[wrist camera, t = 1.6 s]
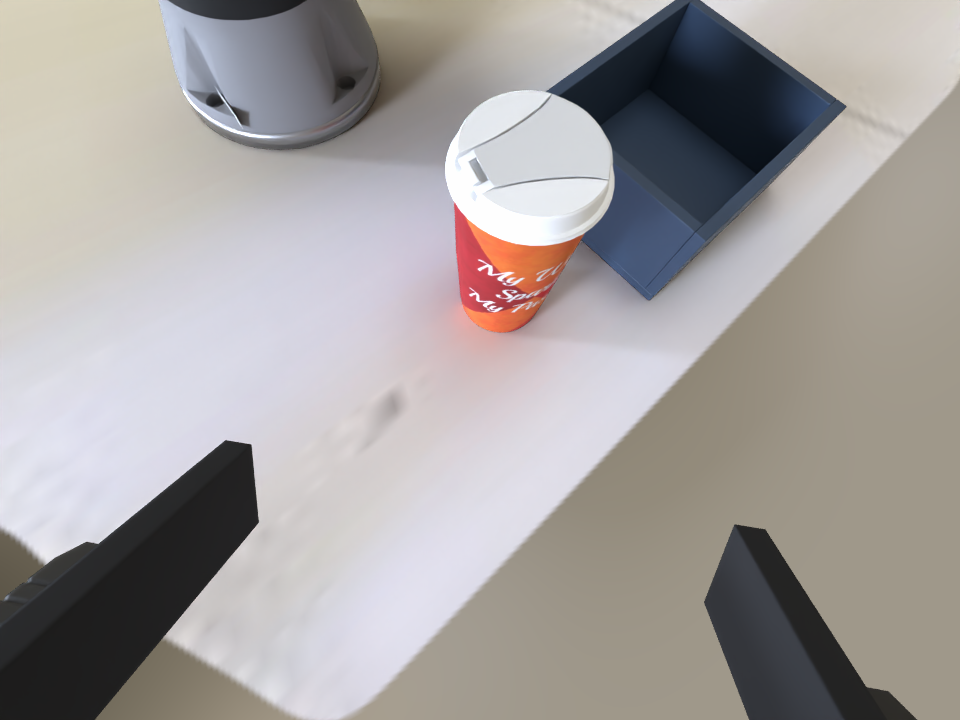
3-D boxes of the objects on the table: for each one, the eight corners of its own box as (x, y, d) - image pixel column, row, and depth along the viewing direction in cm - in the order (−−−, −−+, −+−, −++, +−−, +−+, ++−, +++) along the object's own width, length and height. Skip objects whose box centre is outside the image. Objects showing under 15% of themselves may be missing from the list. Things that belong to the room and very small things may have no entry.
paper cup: (473, 364, 31) (494, 253, 18) (428, 271, 33) (416, 109, 20) (574, 321, 33) (661, 189, 19) (524, 234, 35) (573, 61, 21)
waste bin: (517, 182, 36) (536, 97, 29) (643, 87, 40) (687, -10, 33) (648, 301, 33) (706, 241, 26) (768, 185, 38) (847, 106, 30)
